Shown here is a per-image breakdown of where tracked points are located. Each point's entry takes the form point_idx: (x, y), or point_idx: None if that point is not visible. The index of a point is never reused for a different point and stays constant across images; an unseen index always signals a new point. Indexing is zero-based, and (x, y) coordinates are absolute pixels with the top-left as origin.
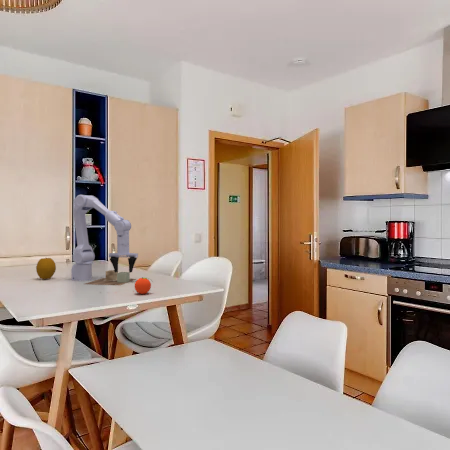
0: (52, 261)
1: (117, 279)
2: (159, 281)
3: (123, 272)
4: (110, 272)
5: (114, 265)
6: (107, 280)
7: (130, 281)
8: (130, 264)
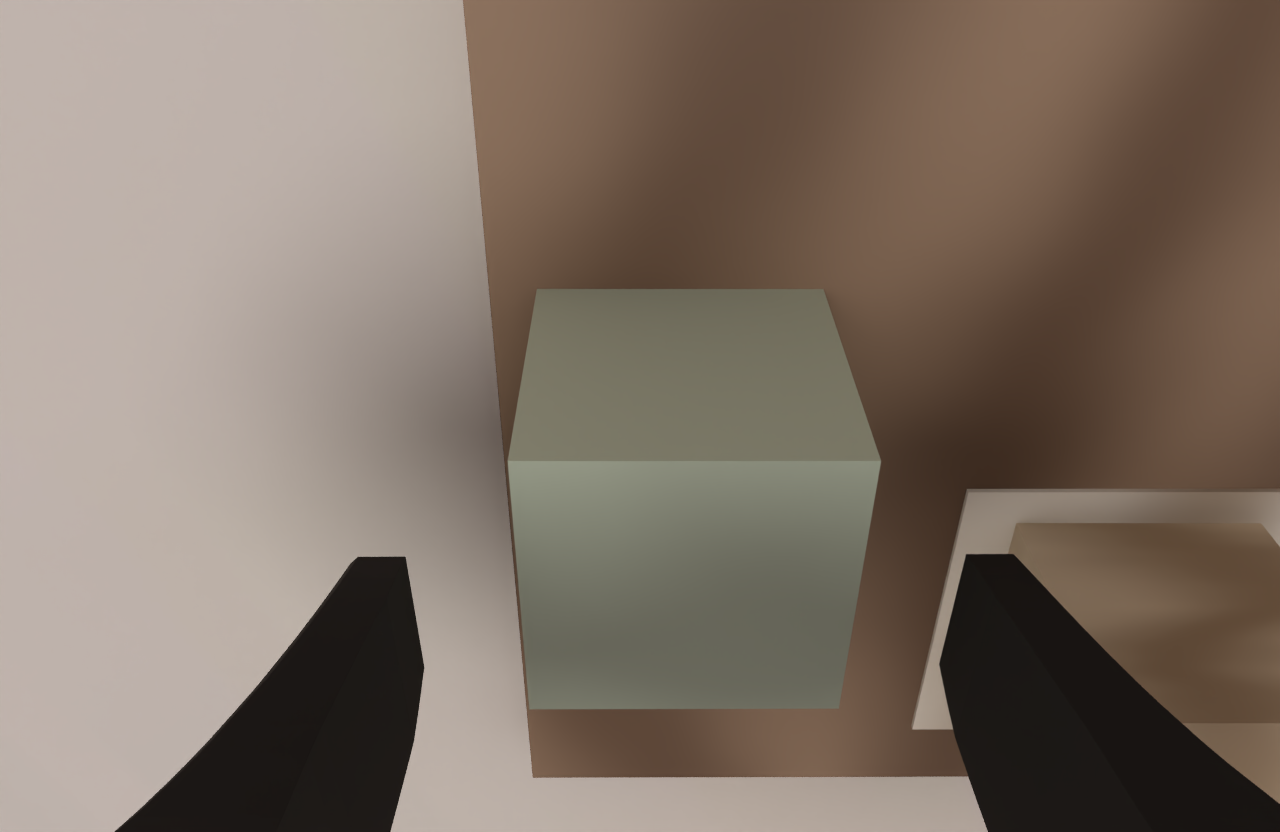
0: None
1: (825, 336)
2: (35, 754)
3: (708, 635)
4: (1219, 694)
5: (1122, 747)
6: (1199, 495)
7: (506, 482)
8: (195, 803)
